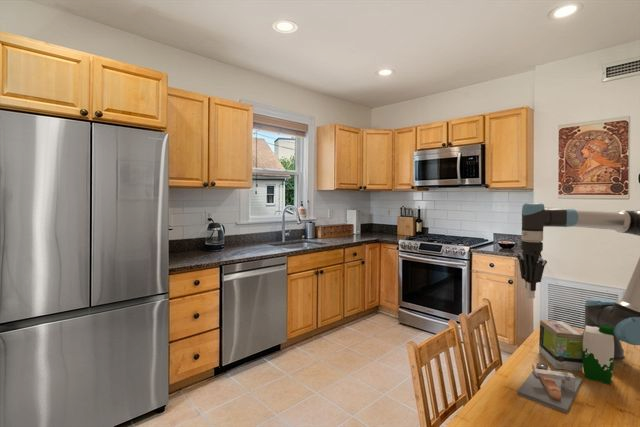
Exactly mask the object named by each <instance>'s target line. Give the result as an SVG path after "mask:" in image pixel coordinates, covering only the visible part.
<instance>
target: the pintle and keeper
mask: <svg viewBox="0 0 640 427" xmlns="http://www.w3.org/2000/svg"><path fill="white" fill-rule="evenodd" d="M535 364H536V366H537V367H538V368H540V369H534V373H535V375H536V376H537V377H544V378H551V379H559V380H561V387H562V388H563V390H564V391H567V392H575V377H574V376H575V375H574V374H573V373H572V372H565V371H560V372H558V371H559V370H556V371H550V370H544V369H548V366H549V365H548V364H546V363H544V362H536V363H535ZM542 369H543V370H542Z"/></svg>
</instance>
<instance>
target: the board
mask: <svg viewBox="0 0 640 427" xmlns="http://www.w3.org/2000/svg"><path fill="white" fill-rule="evenodd" d="M550 370H551V371H558V372H561V371H560V370H556V369H553V368H550ZM574 377H575V392H567V391H564V390H563V388H562V387H561V380H559V379H553V380H554V381H555V383H556V385H557V386H558V388H559V390H560V391H561V400H556V399H553V398H551V397H550V395H549V393H548V391H547V389H546V388H545V386H544V384H543V382H542V380H541V378H540V377H537V376H536V375H535V373H534V371H533V370H532V371H531V372H530V373H529V375H528V377H526V379H525V380H524V382H523V383H522V384H521V386H519V388H518V390H517V391H516V394H517V395H518V396H521V397H523V398H526V399H528V400H531V401H533V402H536V403H539V404H540V405H541V404H542V405H544V406H546V407H548V408H552V409H555V410H557V411H560V412H562V413H565V414H568V413H569V410H570V409H571V406H572V404H573V402H574V400H575V398H576V395H577V393H578V391H579V389H580V387H581V385H582V383H583V377H582V378H581V377H578V376H575V375H574Z"/></svg>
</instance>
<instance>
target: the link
mask: <svg viewBox="0 0 640 427" xmlns="http://www.w3.org/2000/svg"><path fill="white" fill-rule="evenodd" d="M536 364H537V363H532V364H531V367H532V371H534V369H540V368H538V367H537V366H536ZM550 369H551V368H550V366H549V365H548V369H544V370H550ZM542 370H543V369H542ZM550 371H551V370H550ZM540 378H541V380H542V382H543V384H544V386H545V388H546V389H547V391H548V393H549V395H550V397H551V398H553V399H556V400H561V391H560V390H559V388H558V386H557V385H556V383H555V381H554V380H553V379H551V378H544V377H540Z"/></svg>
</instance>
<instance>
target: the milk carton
mask: <svg viewBox="0 0 640 427" xmlns="http://www.w3.org/2000/svg"><path fill="white" fill-rule="evenodd" d="M584 327H585V326H584ZM583 332H584V331H583ZM582 363H583V373H584V378H585V379H586V380H591V381H595V382H599V383H602V384H606V385H609V386H610V385H611V381H612V377H613V374H614V367H615V366H614V363H615V359H614V328H613V327H611V326H608V325H600V326H599V328H598V327H591V326H586V327H585V332H584V337H583V349H582Z"/></svg>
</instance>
